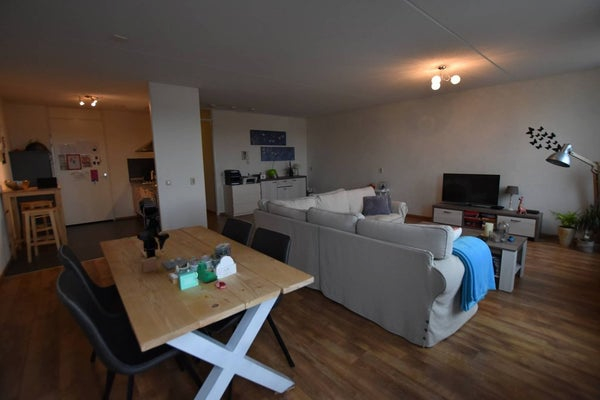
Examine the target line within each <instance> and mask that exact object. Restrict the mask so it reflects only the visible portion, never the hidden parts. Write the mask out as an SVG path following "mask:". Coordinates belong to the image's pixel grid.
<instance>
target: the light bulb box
mask: <svg viewBox="0 0 600 400" xmlns="http://www.w3.org/2000/svg"><path fill="white" fill-rule="evenodd" d="M231 246H232V245H231V243H227V242H222V243H220V244H218V245H217V246H215V247H214V255H215V256H216V255H220V256H224V255H227V256H231V257H232V247H231ZM215 256H214V257H215Z"/></svg>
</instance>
